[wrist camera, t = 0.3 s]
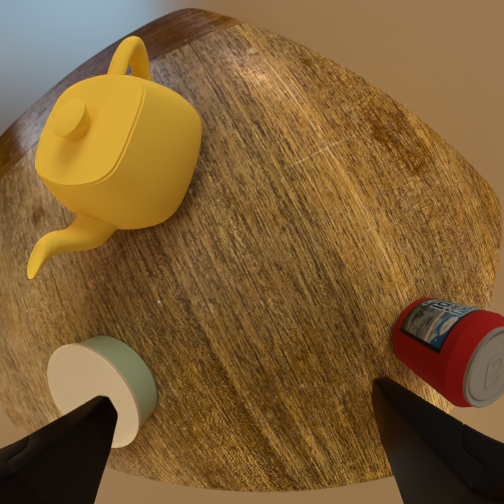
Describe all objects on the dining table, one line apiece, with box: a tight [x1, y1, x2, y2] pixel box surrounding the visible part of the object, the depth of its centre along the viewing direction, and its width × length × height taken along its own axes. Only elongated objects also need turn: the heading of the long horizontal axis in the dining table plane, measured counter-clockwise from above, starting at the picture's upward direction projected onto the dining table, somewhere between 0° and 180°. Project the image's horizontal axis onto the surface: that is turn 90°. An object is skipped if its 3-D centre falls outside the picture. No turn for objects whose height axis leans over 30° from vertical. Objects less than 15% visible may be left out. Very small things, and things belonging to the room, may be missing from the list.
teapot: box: [27, 36, 202, 279], centre depth 20 cm, size 13×20×12 cm
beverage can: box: [393, 298, 504, 408], centre depth 17 cm, size 7×7×12 cm
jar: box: [47, 335, 157, 448], centre depth 23 cm, size 11×11×5 cm
